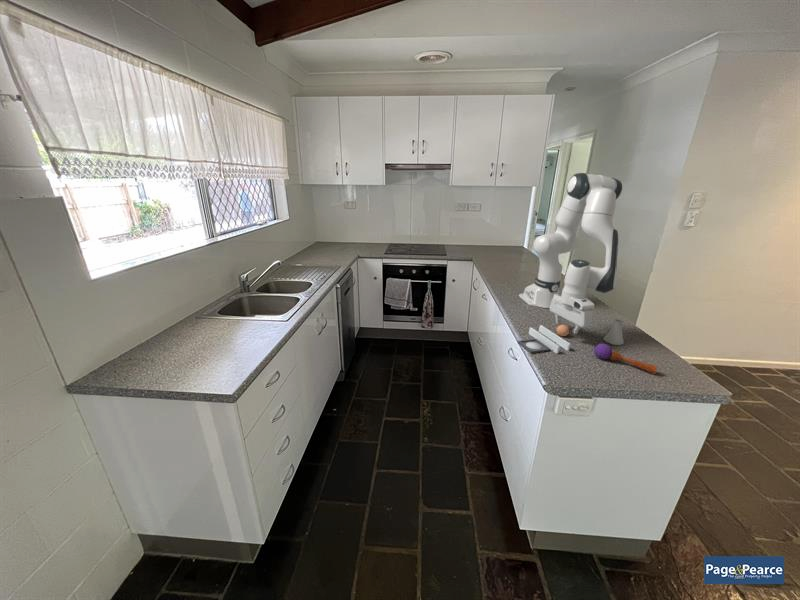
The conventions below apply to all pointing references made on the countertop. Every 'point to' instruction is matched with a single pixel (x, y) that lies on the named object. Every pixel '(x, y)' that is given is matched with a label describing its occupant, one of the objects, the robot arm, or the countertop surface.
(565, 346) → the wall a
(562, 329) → the ball
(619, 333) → the flask
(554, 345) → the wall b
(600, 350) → the purple and orange maraca
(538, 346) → the gray square tray
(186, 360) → the countertop surface
